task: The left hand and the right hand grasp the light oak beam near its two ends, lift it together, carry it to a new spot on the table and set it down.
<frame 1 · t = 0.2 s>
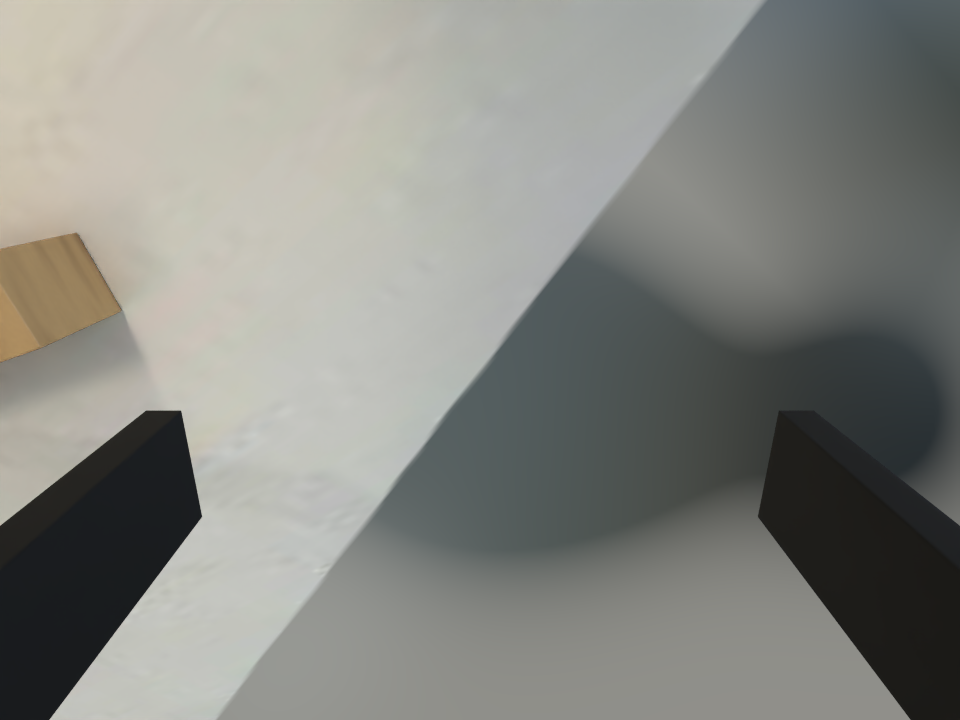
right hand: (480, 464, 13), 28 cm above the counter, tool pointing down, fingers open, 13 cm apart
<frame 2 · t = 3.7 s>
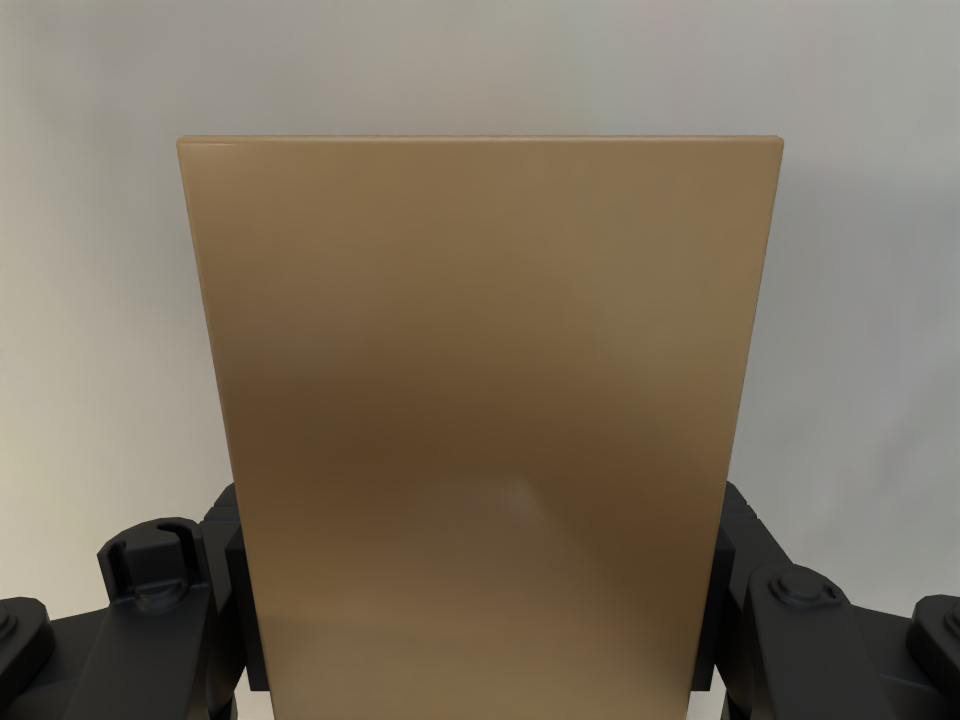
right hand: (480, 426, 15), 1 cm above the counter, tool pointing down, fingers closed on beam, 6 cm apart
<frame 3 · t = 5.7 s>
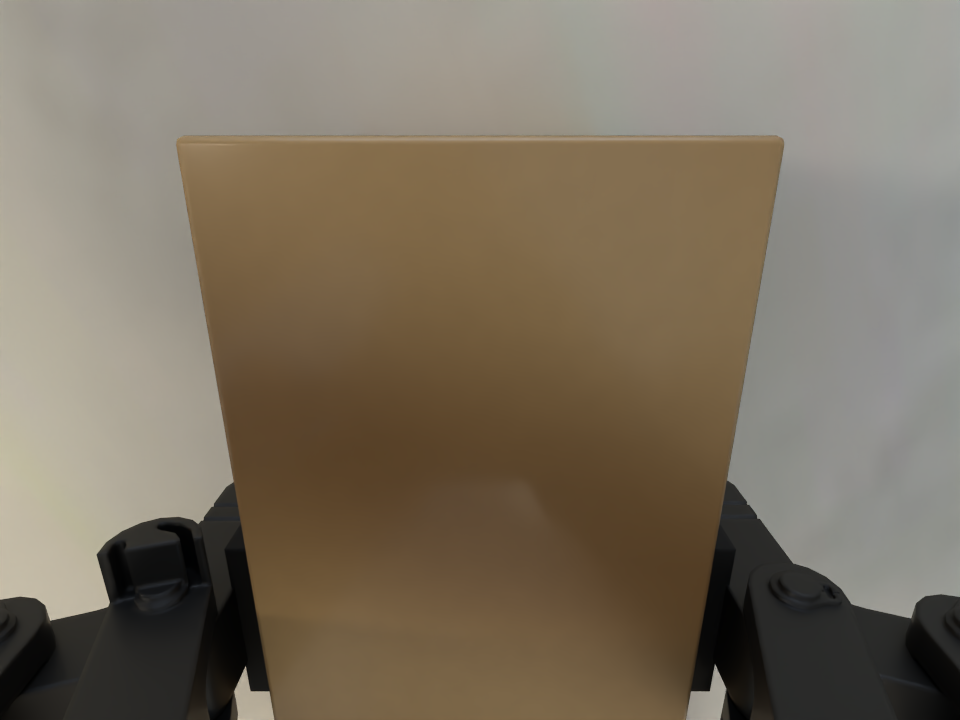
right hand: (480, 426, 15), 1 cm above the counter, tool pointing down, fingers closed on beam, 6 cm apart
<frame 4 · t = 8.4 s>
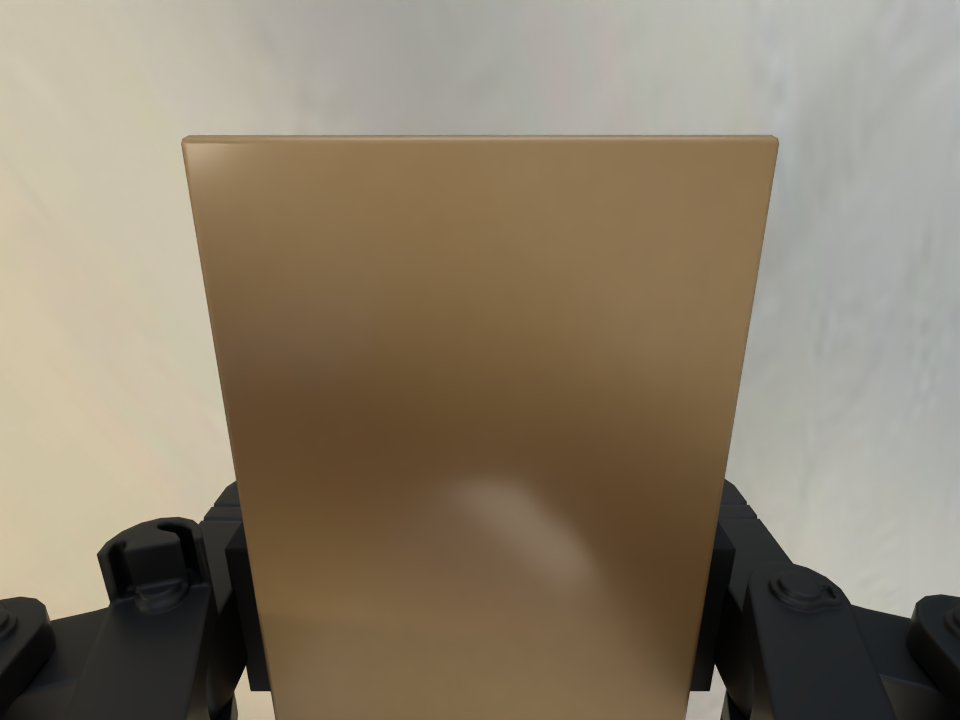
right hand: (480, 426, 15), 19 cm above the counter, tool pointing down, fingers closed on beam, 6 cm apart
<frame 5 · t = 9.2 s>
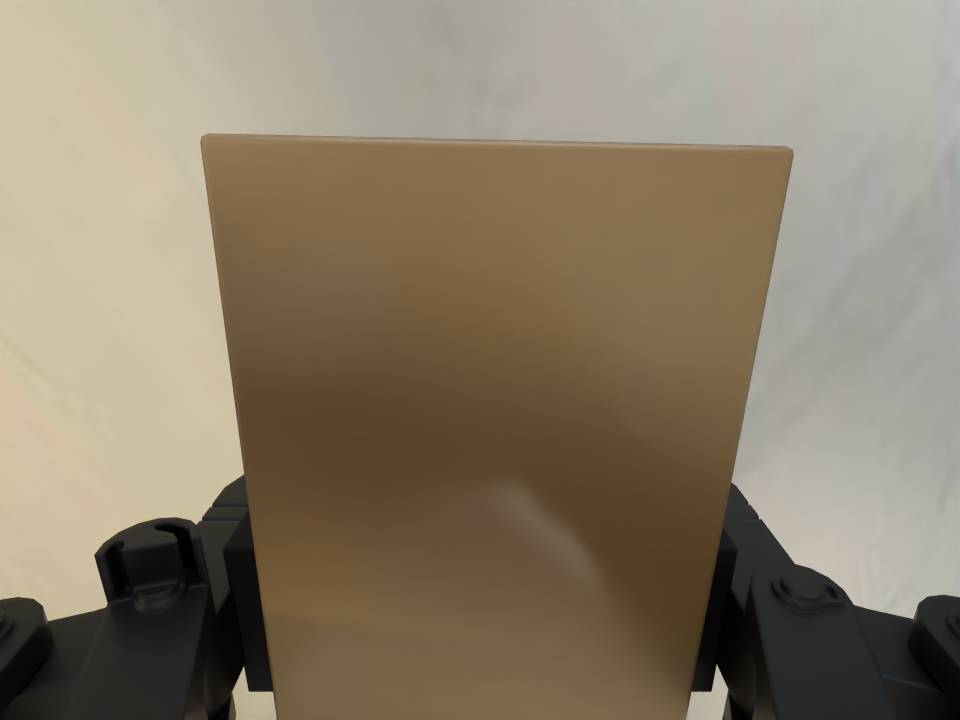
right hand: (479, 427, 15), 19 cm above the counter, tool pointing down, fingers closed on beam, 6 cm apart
when the left hand's fingers open (2 cm above the counter, at t = 13.0 s): beam drops 1 cm, on the counter.
when the right hand's fingers open (2 cm above the counter, at t = 13.0 s): beam drops 1 cm, on the counter.
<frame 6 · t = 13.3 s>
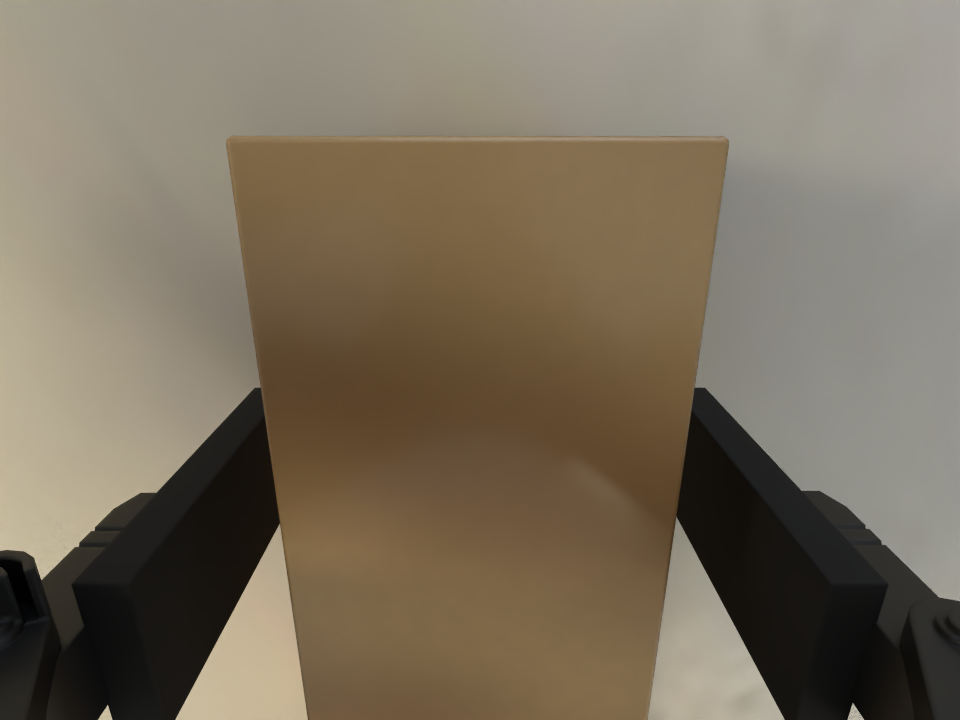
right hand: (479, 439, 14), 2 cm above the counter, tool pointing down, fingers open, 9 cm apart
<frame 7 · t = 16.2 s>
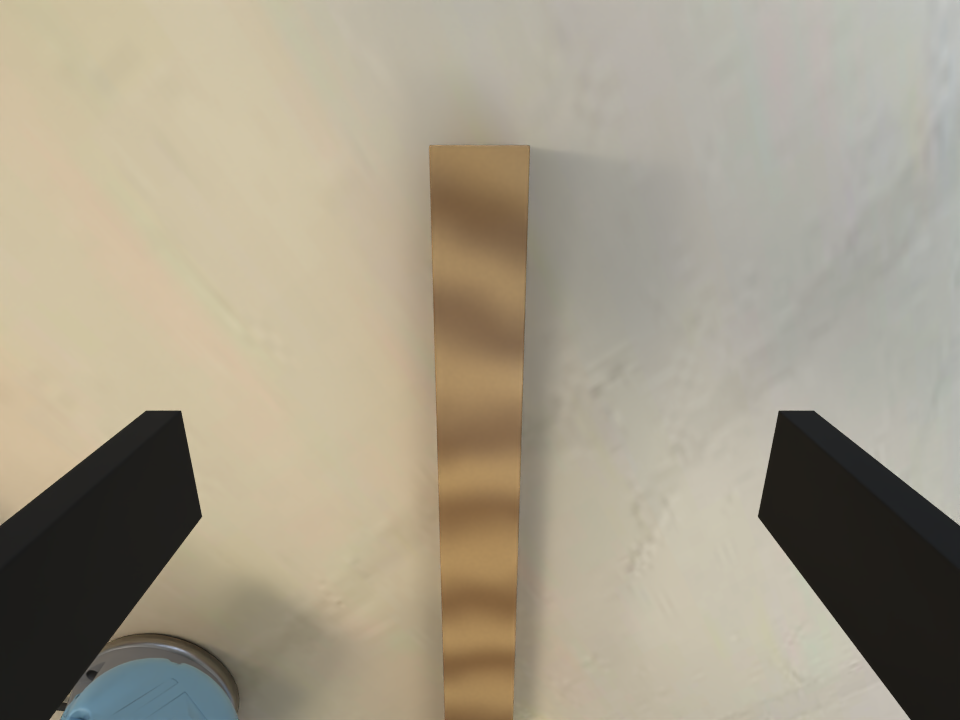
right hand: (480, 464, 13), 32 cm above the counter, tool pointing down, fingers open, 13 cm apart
beam: (479, 533, 51), on the counter
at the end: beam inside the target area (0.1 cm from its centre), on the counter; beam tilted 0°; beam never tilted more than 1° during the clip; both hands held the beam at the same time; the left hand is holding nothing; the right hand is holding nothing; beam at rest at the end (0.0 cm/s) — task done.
